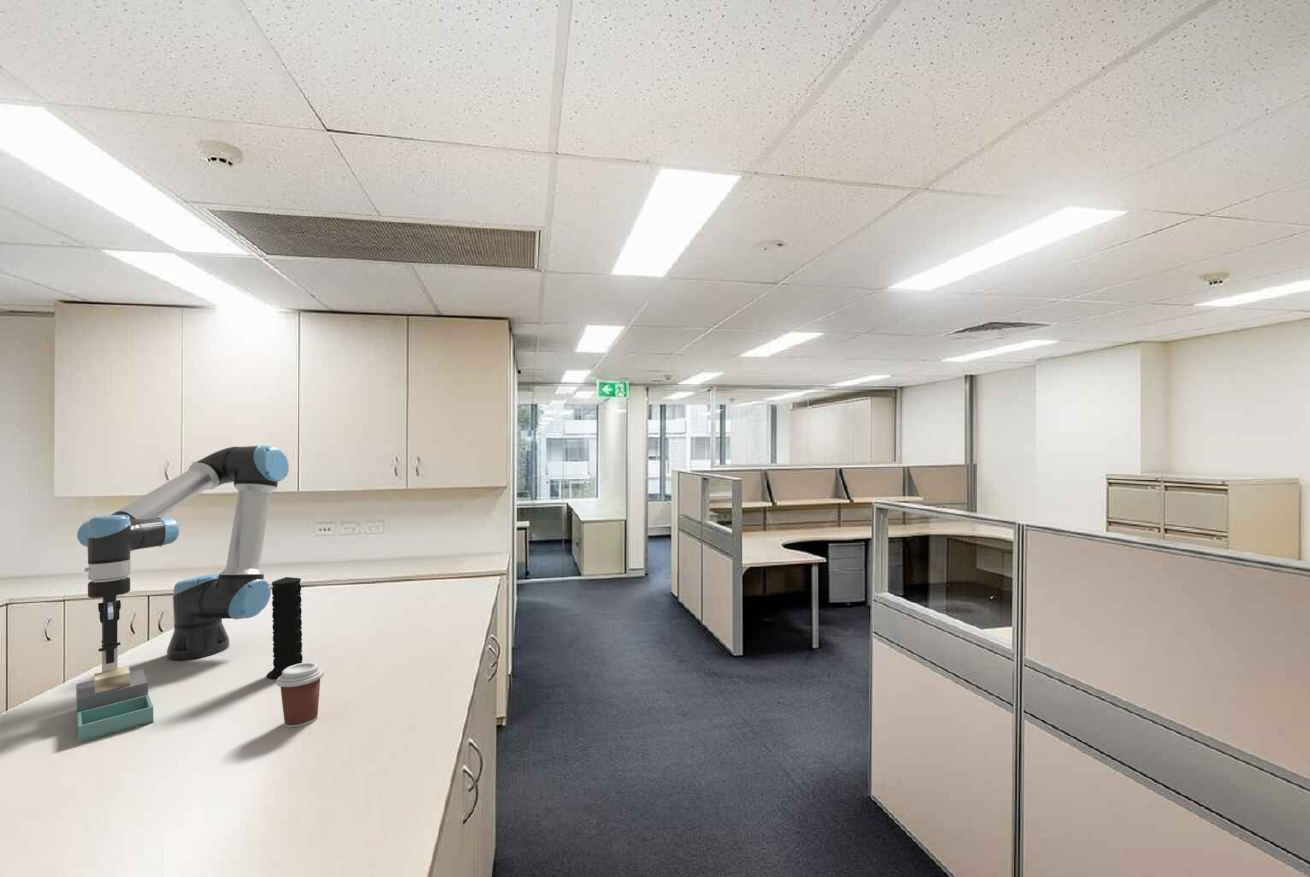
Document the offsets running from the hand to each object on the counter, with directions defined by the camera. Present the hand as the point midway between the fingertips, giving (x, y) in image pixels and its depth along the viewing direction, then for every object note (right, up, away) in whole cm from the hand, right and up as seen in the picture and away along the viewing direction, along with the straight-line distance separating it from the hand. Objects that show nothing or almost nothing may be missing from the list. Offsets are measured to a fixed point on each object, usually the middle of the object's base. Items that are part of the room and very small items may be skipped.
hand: (109, 675), depth 138 cm
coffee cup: (+53, -6, -10) cm, 55 cm away
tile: (+3, -2, -2) cm, 4 cm away
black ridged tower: (+31, -7, +19) cm, 37 cm away
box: (+11, -7, -10) cm, 16 cm away
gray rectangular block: (+1, -8, -1) cm, 8 cm away
